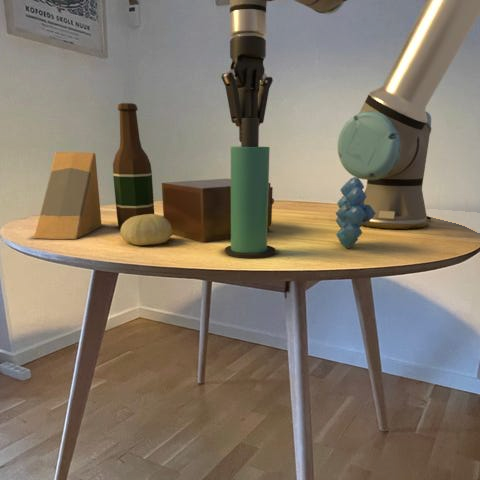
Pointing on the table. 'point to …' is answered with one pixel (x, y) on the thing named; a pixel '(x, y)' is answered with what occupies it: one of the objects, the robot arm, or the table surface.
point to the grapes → (352, 212)
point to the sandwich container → (70, 198)
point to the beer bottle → (131, 170)
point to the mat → (268, 252)
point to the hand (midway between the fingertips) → (247, 157)
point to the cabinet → (200, 208)
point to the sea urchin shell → (146, 230)
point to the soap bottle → (249, 191)
